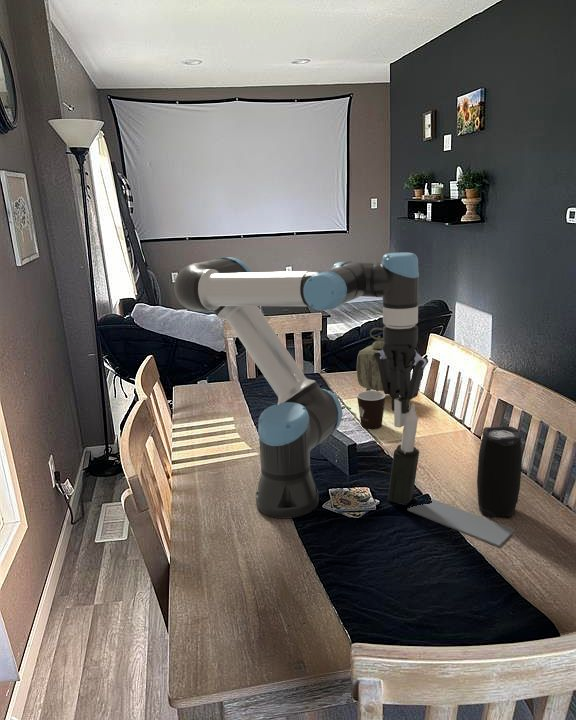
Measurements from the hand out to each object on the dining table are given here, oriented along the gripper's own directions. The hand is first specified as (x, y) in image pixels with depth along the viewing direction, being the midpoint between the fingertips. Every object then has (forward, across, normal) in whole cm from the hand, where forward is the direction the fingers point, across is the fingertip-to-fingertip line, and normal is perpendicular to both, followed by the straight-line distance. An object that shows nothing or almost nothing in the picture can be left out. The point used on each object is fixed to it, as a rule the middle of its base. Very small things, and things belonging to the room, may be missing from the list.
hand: (400, 425), depth 135 cm
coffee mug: (+19, +33, -33) cm, 50 cm away
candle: (+19, 0, 0) cm, 19 cm away
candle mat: (+19, -15, 0) cm, 24 cm away
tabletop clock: (+19, +45, -54) cm, 73 cm away
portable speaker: (+20, -19, -10) cm, 29 cm away
